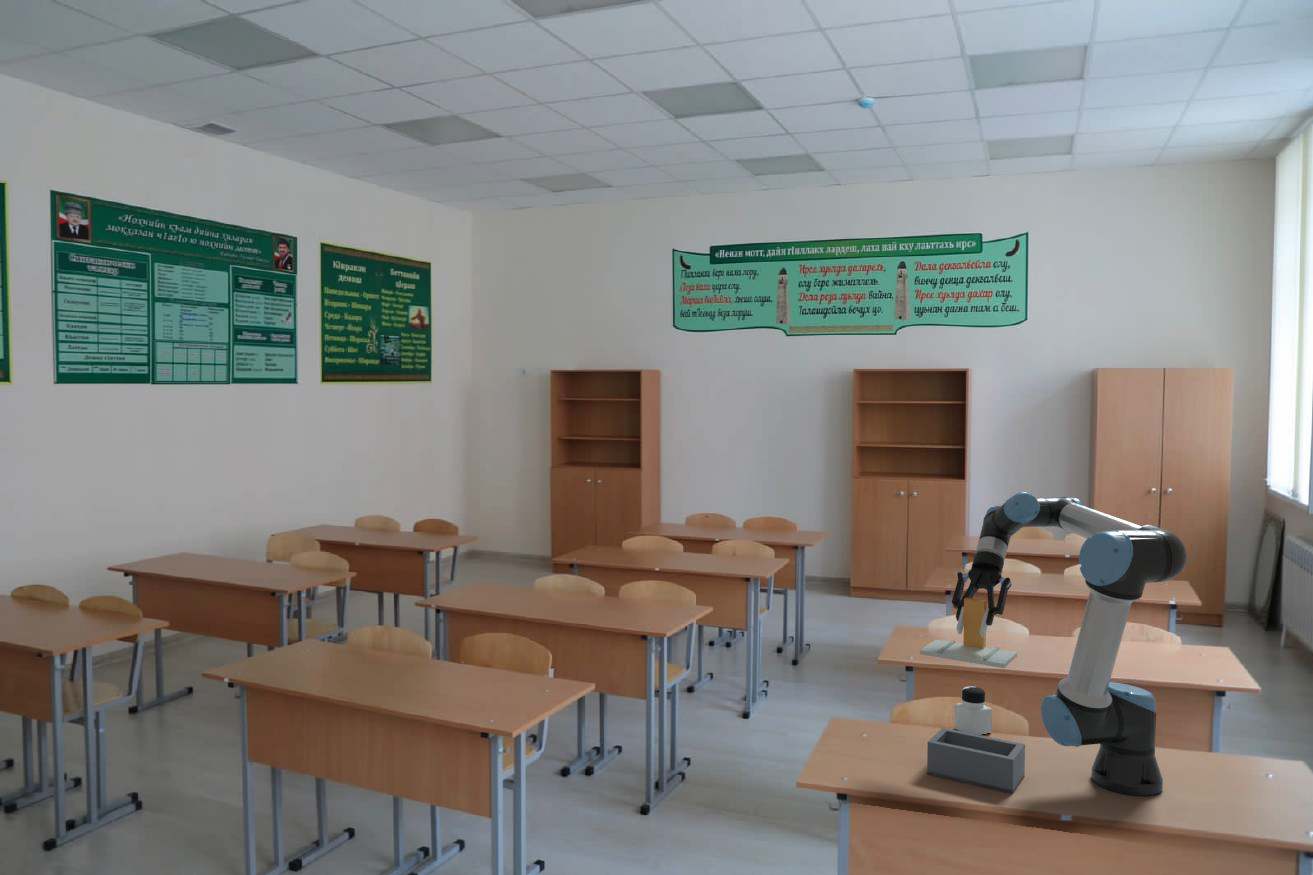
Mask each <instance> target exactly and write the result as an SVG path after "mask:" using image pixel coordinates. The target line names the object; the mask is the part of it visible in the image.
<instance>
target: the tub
mask: <svg viewBox="0 0 1313 875" xmlns="http://www.w3.org/2000/svg"><path fill="white" fill-rule="evenodd" d="M926 754H927V756H926V757H927V760H926V761H927V763H926V766H927V767H926V774H927V775H930V776H933V777H936V778H937V777H938V778H942V779H946V780H950V781H951V780H952V781H954V782H955V781H956V782H960V783H964V784H968V785H972V786H977V787H981V788H985V789H990V790H994V791H999V792H1003V793H1007V794H1012V795H1013V794H1014V793H1015V791H1016V790H1017V789H1018V787H1019V786H1020V784H1021V783H1022V781H1023V780H1024V779H1025V772H1026V771H1025V769H1026V766H1025V763H1026V761H1025V760H1026V744H1025V743H1021V742H1016V741H1010V740H1006V739H1000V738H996V737H991V736H986V735H976V734H971V733H966V732H961V731H959V730H956V729H951V728H950V729H949V728H946V727H942V728H941V729H940V730H938V731H937V732H936V733H935V734H934V735H933V736H932V737H931V738H930V739H929V740H928V741H927V752H926Z"/></svg>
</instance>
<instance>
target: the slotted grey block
mask: <svg viewBox="0 0 1313 875" xmlns="http://www.w3.org/2000/svg"><path fill="white" fill-rule="evenodd" d="M987 603H988V599H979V598H973V597H972V598H965V599H964V627H963V637H962V638H963V643H962V642H956V640H954V639H953V640H950V641H947V640H943V639H934V640H933V641H932V642H930V643H928V644H927V645H925V646H924V647H923V648H922V649H920V650H919V655H922V656H928V657H929V656H930V657H934V658H939V659H940V658H941V659H946V660H951V661H959V662H964V663H970V664H977V665H982V666H983V665H984V666H989V667H995V668H1001V669H1005V668H1007V666H1009V664H1011V663H1012V661H1013V662H1014V660H1015V659H1016V658H1017V657H1018V651H1013V650H1012V651H1011V650H1005V649H1000V647H999V646H998V647H997V646H996V647H993V648H992V647H989V646H988V647H987V646H986V644H987V642H986V641H987V633H986V634H985V638H982V637H981V634H980V628H981V624H982V620H983V616H984V612H985V610H987Z"/></svg>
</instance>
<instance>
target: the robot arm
mask: <svg viewBox="0 0 1313 875" xmlns="http://www.w3.org/2000/svg"><path fill="white" fill-rule="evenodd" d="M982 522H983V523H982V526H981V530H980V534H979V537H978V538H979V539H978V541H977V546H976V549H975V552H974V553H975V554H974V557H973V561H972V564H971V568H970V570H968V572H966V573H962V571H959V572H957V573H956V574H957V582H956V584H955V585H956V586H955V589H954V592H953V596H952V599H951V604H952V606H953V608H954V609H957V610H956V614H955V618H956V621H957V624H956V627H955V628H956V630H957V634H958V635H962V633H963V632H964V599H965V598H972V599H973V597H974V595H975V594H976V593H977V592H978V591H979V590H986V592H987V593H986V594H987V604H988V607H987V608H988V609H986V610H985V612H984V616H983V620H982V624H981V628H980V634H981V637H982V638H985V634H986V635H987V630H988V627H989V626H990V627H991V626H992V625H993V621H994V618H995V616H996V615H999V616H1001V615H1003V614H1004V610H1005V607H1006V606H1005V605H1006V600H1007V596H1008V591H1009V590H1010V588H1011V587H1012V581H1011V578H1010V577H1003V576H1002V572H1003V570H1004V569H1003V568H1004V564H1005V560H1006V556H1007V553H1008V550H1009V549H1008V548H1009V544H1010V540H1011V537H1012V536H1013V535H1015V534H1016V533H1018V532H1019V531H1020V530H1021V529H1023V528H1036V527H1037V528H1038V527H1039V528H1041V527H1057V528H1059V529H1062V530H1065V531H1067V532H1070V533H1072V534H1075V535H1077V536H1080V537H1082V538H1085V539H1086V540H1084V542H1083V544H1082V546H1081V548H1080V551H1079V555H1078V564H1079V565H1080V567H1079V570H1080V573H1081V575H1082V577H1083V578H1084V580H1085V581H1084V582H1085V583H1084V584H1085V585H1086V586H1087V587H1088V589H1089V593H1088V594H1089V595H1088V598H1087V603H1086V606H1085V610H1084V613H1083V617H1082V621H1081V626H1080V630H1079V632H1078V636H1077V641H1076V644H1075V648H1074V652H1073V656H1072V660H1071V663H1070V667H1069V671H1068V675H1067V677H1064V678H1061V680H1059V682H1058V685H1057V689H1056V692H1055V694H1049V695H1047V696H1045V697H1044V698H1043V699H1042V701H1041V705H1040V713H1041V714H1040V715H1041V719H1042V722H1043V725H1044V728H1045V731H1046V732H1047V734H1048V735H1049V737H1050V738H1051V739H1052V740H1053V741H1054V742H1055V743H1057V745H1058V744H1059V745H1060V746H1063V747H1076V748H1078V747H1081V746H1090V745H1091V746H1092V745H1099V749H1098V752H1097V754H1096V755H1095V759H1094V761H1093V764H1092V766H1091V779H1092V781H1093V782H1094V783H1096V784H1097V785H1099V786H1100V787H1102V788H1104V789H1107V790H1110V791H1112V792H1116V793H1120V794H1123V795H1125V794H1126V795H1130V796H1144V797H1145V796H1155V795H1158V794H1161V793H1162V791H1163V790H1162V789H1163V787H1164V785H1163V784H1164V782H1163V781H1164V780H1163V775H1162V773H1161V770H1160V767H1159V764H1158V760H1157V758H1156V730H1157V729H1156V727H1157V721H1156V720H1157V713H1158V712H1157V709H1156V706H1157V704H1156V701H1157V700H1156V697H1155V696H1154V694H1153V693H1151V691H1148V690H1146V689H1144V688H1141V687H1138V686H1135V685H1130V684H1127V683H1121V682H1120V683H1119V682H1114V681H1111V677H1112V675H1113V671H1114V668H1115V664H1116V660H1117V657H1118V654H1119V650H1120V647H1121V643H1122V640H1123V635H1124V632H1125V628H1126V625H1127V622H1128V618H1129V614H1130V610H1131V606H1132V603H1134V602H1136V601H1138V600H1140V599H1141V598H1142V597H1143V594H1144V593H1143V592H1144V589H1145V586H1146V584H1150V583H1153V584H1154V583H1164V582H1167V581H1170V580H1172V579H1173V578H1176V577H1177V576H1179V574H1180V573H1181V572H1182V571H1183V570H1184V568H1185V566H1186V564H1187V556H1188V554H1187V553H1188V552H1187V549H1186V546H1185V544H1184V542H1183V541H1182V540H1181V539H1180V537H1178V536H1177V535H1176V534H1175V533H1173V532H1171V531H1170V530H1166V529H1164V528H1161V527H1158V526H1155V525H1151V524H1147V525H1146V524H1145V525H1142V526H1141V525H1139V524H1136V523H1133V522H1131V521H1128V520H1124V519H1122V518H1119V517H1116V516H1113V515H1110V514H1107V513H1104V512H1103V511H1098V510H1096V509H1093V508H1091V507H1087V506H1085V505H1084V504H1083V502H1081V500H1080V499H1079V498H1076V497H1068V496H1063V497H1062V496H1061V497H1035V496H1034V495H1033V494H1032V493H1028V492H1025V491H1019V492H1017V493H1015V494H1014V495H1012V496H1011V497H1009V498H1008V499H1006V500H1005V502H1004V503H1003V504H1002V505H995V506H991V507H989V508H988V509H987V511H986V513H985V515H984V516H983V521H982ZM968 579H969V580H970V582H969V586H968V587H967V588H966V591H965V593H964V594H963V591H964V588H965V583H967V581H968ZM999 583H1000V590H999V593H998V594H999V595H998V599H997V603H996V606H995V595H994V594H995V593H994V592H995V590H994V589H995V588H994V587H996V586H997V585H998V584H999ZM962 595H963V596H962ZM1157 793H1158V794H1157ZM1154 794H1155V795H1154Z"/></svg>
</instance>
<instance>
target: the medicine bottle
mask: <svg viewBox="0 0 1313 875" xmlns="http://www.w3.org/2000/svg"><path fill="white" fill-rule="evenodd" d="M985 704H986V691H985V690H984V689H982V688H981V687H979V686H965V687H963V688H962V689H961V702H958V703H954V719H953V720H954V722H953V725H954V730H956V731H961V732H966V733H971V734H976V735H981V736H983V735H982V734H986V735H988V734H987V733H991V734H992V731H993V730H992V729H993V728H992V725H993V724H992V723H993V721H992V720H993V714H992V713H993V709H992V707H990V706H987V705H985Z"/></svg>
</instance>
